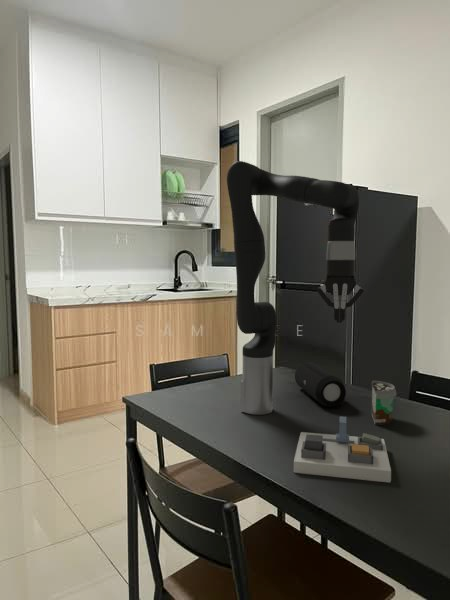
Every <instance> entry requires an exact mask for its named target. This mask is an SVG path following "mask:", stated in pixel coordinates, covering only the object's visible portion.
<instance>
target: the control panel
mask: <svg viewBox="0 0 450 600" xmlns="http://www.w3.org/2000/svg"><path fill="white" fill-rule="evenodd" d="M307 434H308V435H320V436H323V441H322V451H316V450H305V439H306V435H307ZM352 444H357V445H368V446H369V455H359V454H351V452H352ZM293 459H294V460H293V473H296V474H304V475H313V476H325V477H334V478H343V479H353V480H361V481H362V480H363V481H370V482H379V483H382V482H383V483H392V482H391V481H392V467H391V465H390V464H391V463H390V461H389V455H388V452H387V446H386V443H385V439H384V438H379V445H373V444H369V443H366V442H362V436H355V435H352V436H351V435H349V443H346V442H336V434H328V433H317V432H305V431H301V432H300V435H299V438H298V442H297V446H296V450H295V454H294V458H293Z"/></svg>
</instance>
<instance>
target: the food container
mask: <svg viewBox="0 0 450 600" xmlns="http://www.w3.org/2000/svg"><path fill="white" fill-rule="evenodd" d="M397 395H398V394H397V389H396V388H395V386H394V384H392V383H389V382H386V381H379V380H371V416H372V419H373V422H374V426H386V425H389V424H391V423H392V420H393V419H392V418H393V409H394V402H395V401H394V400H395V398H396V396H397ZM385 424H386V425H385Z"/></svg>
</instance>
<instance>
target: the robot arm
mask: <svg viewBox="0 0 450 600" xmlns="http://www.w3.org/2000/svg"><path fill="white" fill-rule="evenodd" d="M226 186H227V191H228V198H229V203H230V204H229V205H230V209H231V218H232V219H231V221H232V231H233V247H234V249H233V250H234V260H235V270H236V322H237V326H238V328H239V330H240V331H241V333H243V334H246V335H248V334H249V335H250V334H251V335H252V334H254V336H253V338H251V340H249V341H248V342H247V343H245V344H244V345H243V346H242V379H241V381H240V412H241V413H246V414H249V415H259V416H261V415H268V414H270V413H272V412H273V410H274V409H273V406H274V404H273V403H274V402H273V399H274V398H273V394H274V392H273V391H274V386H273V385H274V384H273V383H274V381H273V380H274V374H273V373H274V349H275V347H276V338H277V337H276V336H277V322H278V321H277V312H276V309H275V307H274V305H273V304H272V303H270V302H269V301H260V302H259V301H257V302H256V301H255V300H256V299H255V287H256V284H257V283H256V282H257V281H258V278H259V275H260V273H261V271H262V269H263V267H264V264H265V260H266V243H265V236H264V232H263V228H262V226H261V224H260V221H259V220H258V218H257V215H256V212H255V209H254V206H253V196H273V197H278V198H283V199H285V200H290V201H292V202H297V203H302V204H308V205H317V206H321V207H326V208H328V209H329V208H330V209H332V210H334V211H333V219H331V220H330V221H329V222H328V226H327V244H326V245H327V246H326V255H325V256H326V262H325V263H326V268H325V269H326V270H325V271H326V273H325V274H326V275H325V280H324V282H323V284H322V285H321V286H320V287H317V288H316V292H317V293H318V294H319V296H320V297H321V298H322V299H323V301H324V302H325V304H326V305H327V306H328V307H330V308H333V309H334V311H333V318H334V321H336V323H341V324H342V323H343V321H345V319H346V309H347V308H351V307H352V306H353V305H354V304H355V303H356V302H357V301H358V299H359V298H360V297H361V296H362V295H363V293H364V292H365V289H364V288H362V287H361V286H360V285H358V284H357V280H356V278H355V277H356V245H355V240H356V239H355V238H356V237H355V234H356V232H355V231H356V230H355V228H356V227H355V226H356V225H355V224H356V221H357V217H358V216H357V215H358V212H359V206H360V194H359V192H358V190H357V188H356V187H355V186H353V185H352V184H348V183H345V182H344V181H343V182H342V181H338V180H337V181H336V180H326V179H325V180H324V179H318V178H314V177H308V176H302V175H280V174H275V173H272V172H269V171H266V170H264V169H262V168H260V167H259V166H256V165H255V164H252V163H249V162H246V161H243V160H237V161H234V162H233V163H232V164H231V165H230V166H229V168H228V171H227V173H226ZM326 289H327V290H326ZM353 289H354V291H353ZM327 291H329V293H330V295H332V296H333V301H332V300H331V299H330V298H329V296H328V295H327V294H326V292H327ZM352 291H353V293H354V294H353V296H352V297H351V298H350V299H349V301H347V296H349V295H350V293H351V292H352ZM339 296H341V298H340V299H341V302H340V300H339ZM346 301H347V302H346Z"/></svg>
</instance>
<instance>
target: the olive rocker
mask: <svg viewBox="0 0 450 600" xmlns="http://www.w3.org/2000/svg"><path fill="white" fill-rule="evenodd" d="M361 437H362V442H366V443H369V444H373V445H379V439H380V438H379V436H376V435H373V434H369V433H365V432H363V433H362V436H361Z"/></svg>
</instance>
